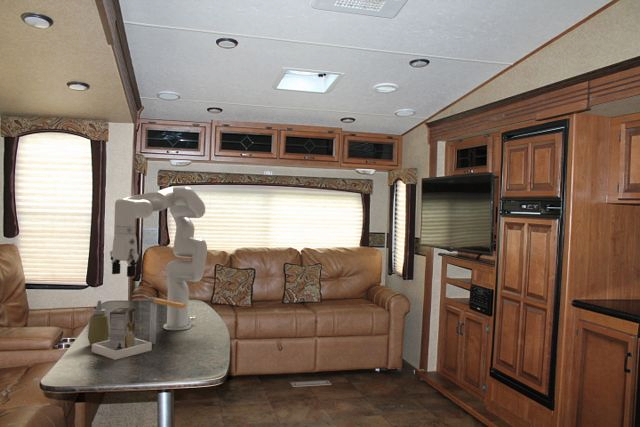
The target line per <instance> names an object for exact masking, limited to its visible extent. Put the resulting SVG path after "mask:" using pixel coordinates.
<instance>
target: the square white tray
mask: <svg viewBox="0 0 640 427" xmlns="http://www.w3.org/2000/svg"><path fill="white" fill-rule="evenodd" d="M149 303H150V302H149ZM157 305H158V303H150V305H149V306H150V307H149V308H150V310H149V312H150V313H149V341H147V340H143V339H140V338H136V337H135V339H134V346H133V347H129V348H125V349H121V350H117V351H116V350H113V349H109V339H108V341H103V342H98V343H94V344H92V346H91V352H92V353H95V354H97V355H101V356H104V357H106V358H108V359H109V358H110V359H112V360H115V361H116V360H120V359H123V358H127V357H131V356H134V355H139V354H143V353H147V352H151V351H152V346H153V345H155V344H156V342H157V341H156V340H157V339H156V338H157Z"/></svg>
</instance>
